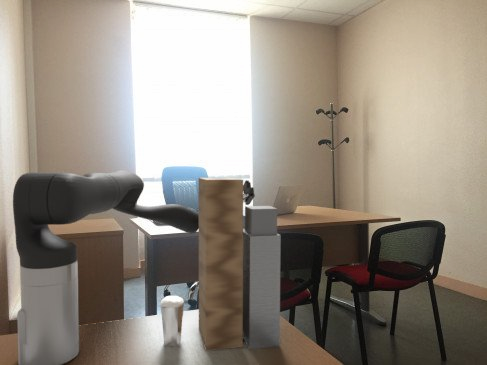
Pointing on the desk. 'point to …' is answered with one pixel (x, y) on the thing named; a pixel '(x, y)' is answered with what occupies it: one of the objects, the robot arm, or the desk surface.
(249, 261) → the tall grey pillar
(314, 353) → the desk surface
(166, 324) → the milkshake
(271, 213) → the block
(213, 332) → the walnut stand
